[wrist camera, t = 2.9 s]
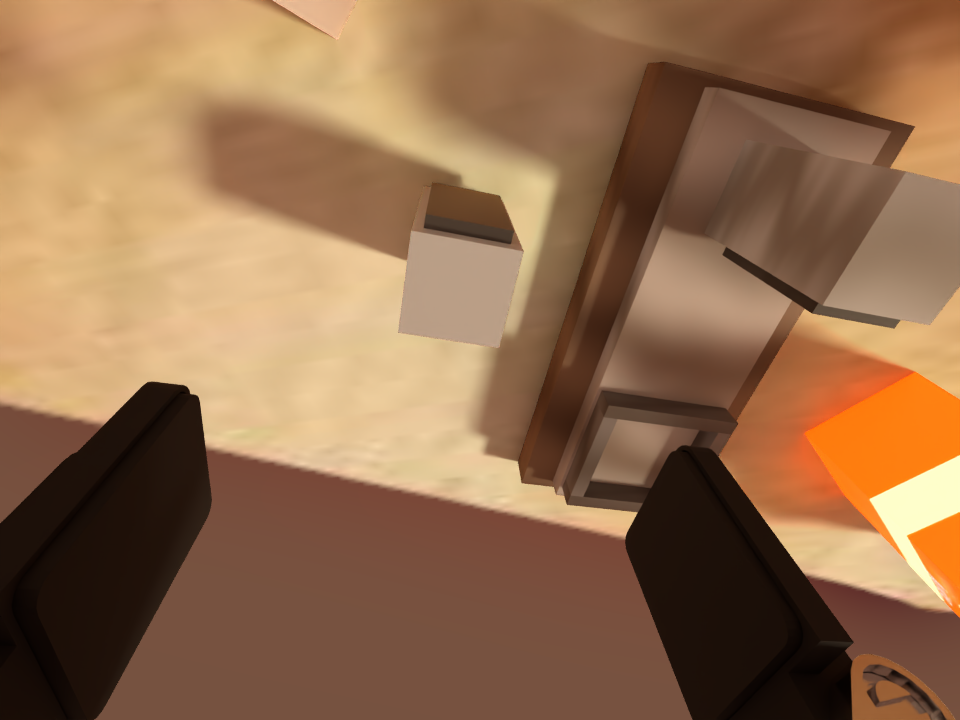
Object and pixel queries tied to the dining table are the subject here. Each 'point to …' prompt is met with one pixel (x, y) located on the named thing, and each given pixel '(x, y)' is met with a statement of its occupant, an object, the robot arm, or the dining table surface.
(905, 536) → the orange juice
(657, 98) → the rail board
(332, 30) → the milk
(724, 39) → the dining table surface
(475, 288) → the white block dark cap
